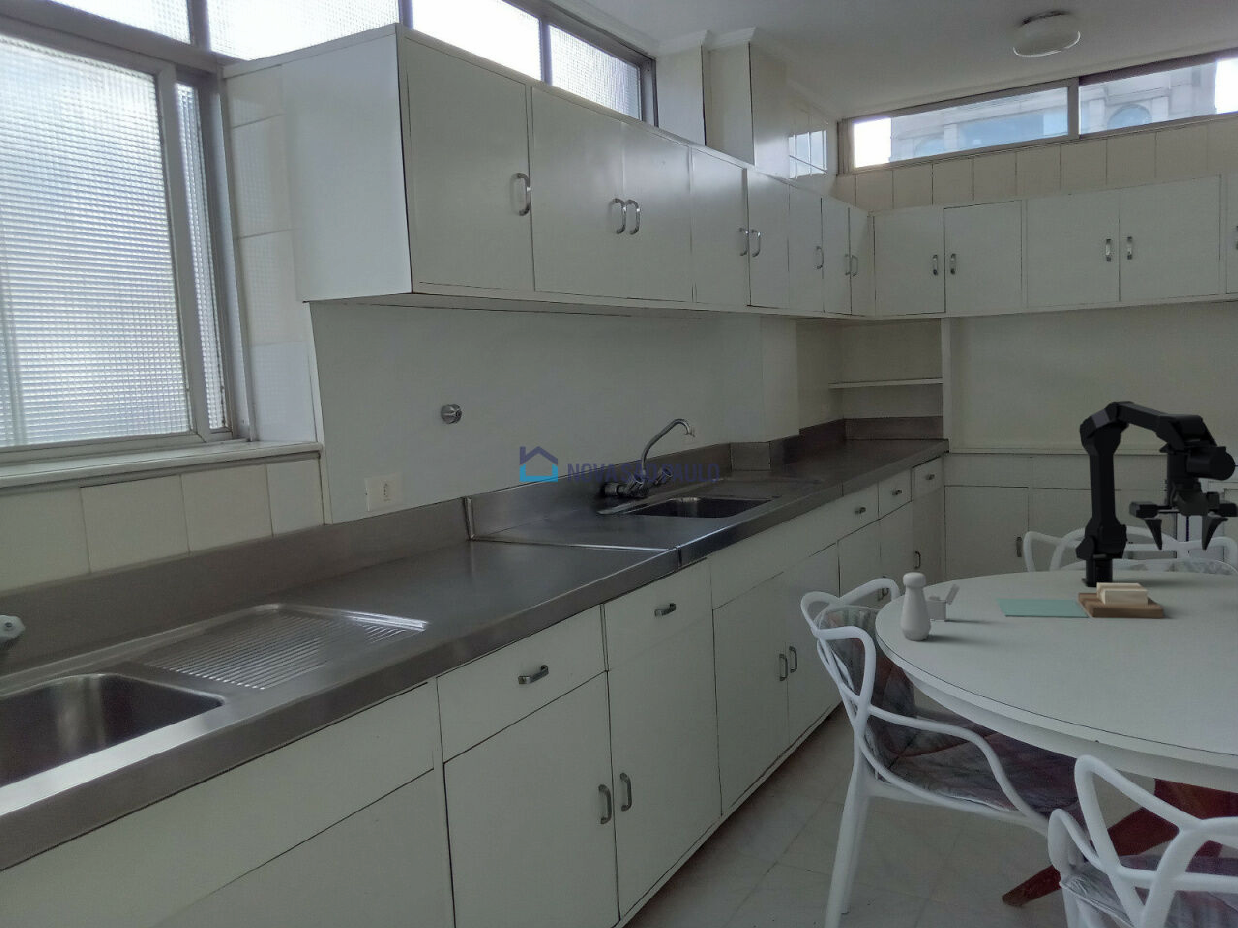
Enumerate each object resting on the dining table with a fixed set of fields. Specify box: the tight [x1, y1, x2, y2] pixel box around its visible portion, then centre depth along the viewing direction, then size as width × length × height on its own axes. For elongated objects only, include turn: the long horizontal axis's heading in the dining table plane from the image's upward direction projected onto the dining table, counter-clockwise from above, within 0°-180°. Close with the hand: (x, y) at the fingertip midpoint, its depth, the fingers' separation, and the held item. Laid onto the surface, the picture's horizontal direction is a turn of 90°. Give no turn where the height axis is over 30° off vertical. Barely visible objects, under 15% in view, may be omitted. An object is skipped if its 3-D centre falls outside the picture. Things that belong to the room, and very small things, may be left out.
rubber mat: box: [995, 597, 1089, 619], centre depth 195 cm, size 14×16×1 cm
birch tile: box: [1096, 582, 1149, 605], centre depth 191 cm, size 7×8×3 cm
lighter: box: [925, 583, 961, 620], centre depth 189 cm, size 7×2×8 cm, turn 57°
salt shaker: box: [900, 572, 932, 641], centre depth 178 cm, size 6×6×13 cm
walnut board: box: [1078, 592, 1164, 620], centre depth 191 cm, size 13×13×2 cm
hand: (1182, 550), depth 187 cm, fingers open, 8 cm apart
